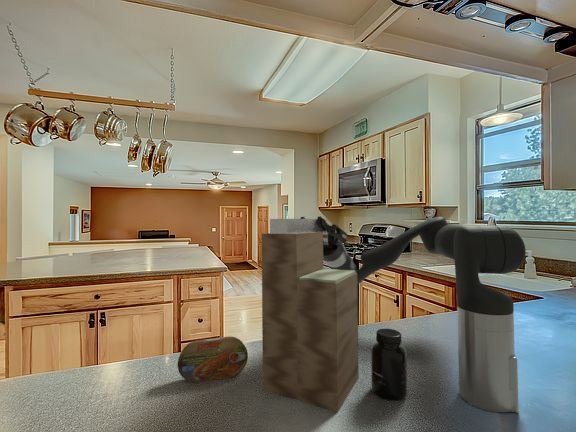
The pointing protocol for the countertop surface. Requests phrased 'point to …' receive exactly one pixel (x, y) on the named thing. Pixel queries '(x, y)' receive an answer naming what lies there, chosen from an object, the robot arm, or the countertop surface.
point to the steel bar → (293, 226)
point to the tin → (212, 359)
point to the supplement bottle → (389, 365)
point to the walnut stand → (307, 322)
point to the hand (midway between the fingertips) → (309, 219)
